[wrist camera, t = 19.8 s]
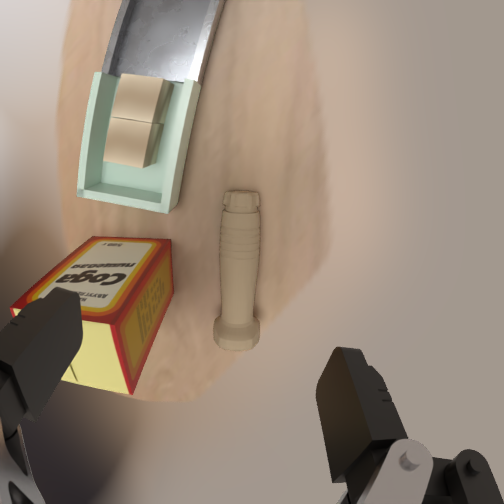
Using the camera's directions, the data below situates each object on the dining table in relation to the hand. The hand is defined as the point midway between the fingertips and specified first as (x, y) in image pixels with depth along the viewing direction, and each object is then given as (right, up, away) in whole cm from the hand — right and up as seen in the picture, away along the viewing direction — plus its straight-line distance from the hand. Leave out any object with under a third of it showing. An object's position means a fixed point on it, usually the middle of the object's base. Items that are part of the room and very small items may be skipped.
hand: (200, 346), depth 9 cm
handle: (+1, +9, +20) cm, 22 cm away
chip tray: (-9, +14, +19) cm, 26 cm away
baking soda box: (-12, +1, +25) cm, 27 cm away
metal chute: (-6, +29, +13) cm, 32 cm away
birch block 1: (-8, +17, +17) cm, 26 cm away
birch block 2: (-9, +14, +19) cm, 25 cm away
